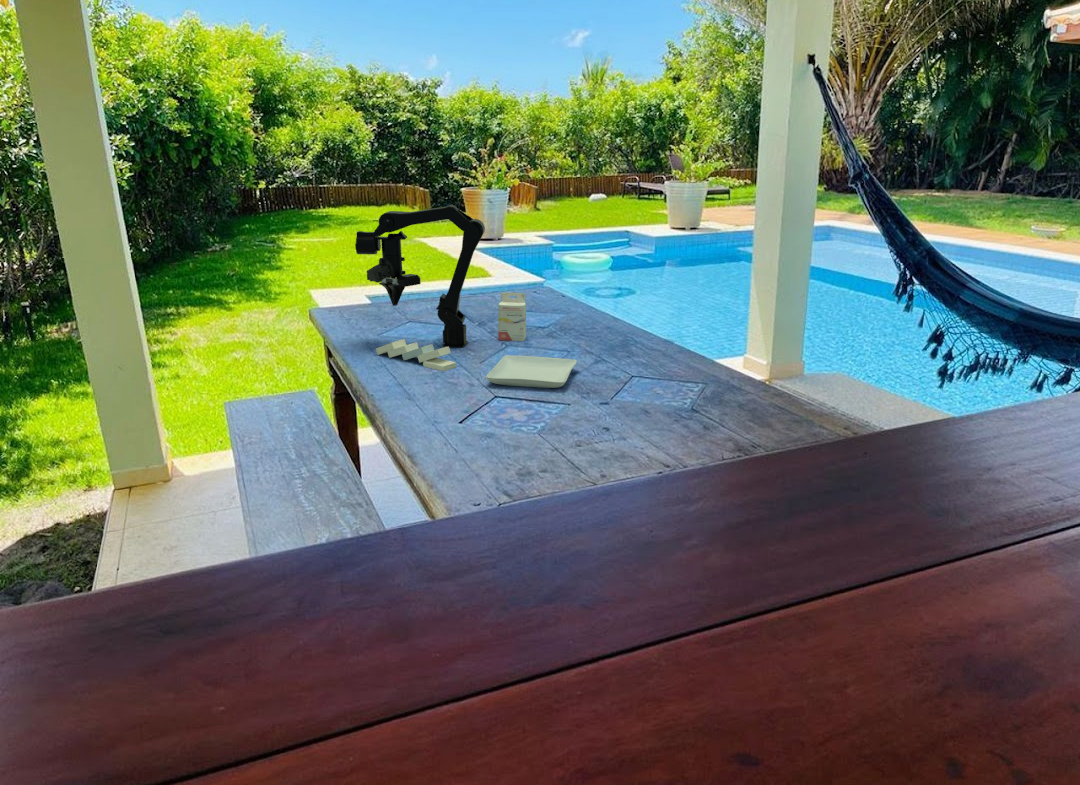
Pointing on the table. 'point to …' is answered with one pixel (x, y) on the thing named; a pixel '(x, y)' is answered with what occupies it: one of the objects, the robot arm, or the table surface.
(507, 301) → the ink cartridge box
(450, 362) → the domino
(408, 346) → the domino
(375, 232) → the robot arm
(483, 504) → the table surface
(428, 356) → the domino
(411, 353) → the domino
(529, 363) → the salad plate
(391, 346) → the domino
